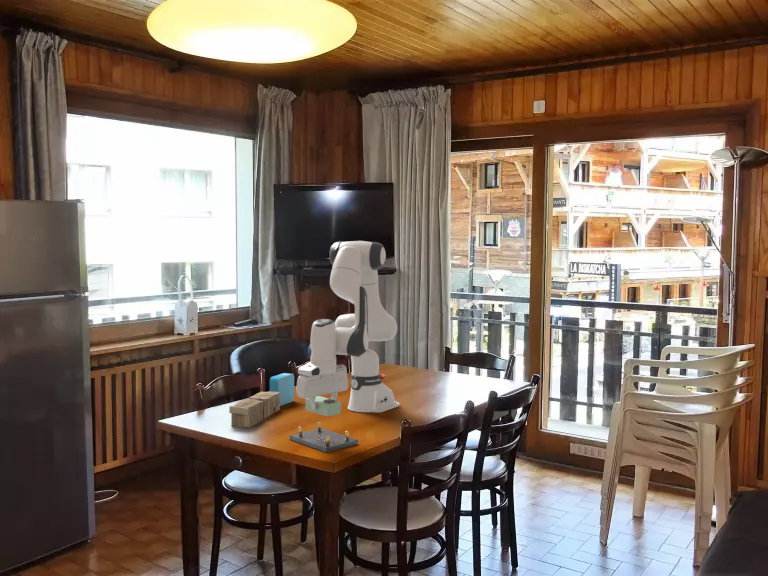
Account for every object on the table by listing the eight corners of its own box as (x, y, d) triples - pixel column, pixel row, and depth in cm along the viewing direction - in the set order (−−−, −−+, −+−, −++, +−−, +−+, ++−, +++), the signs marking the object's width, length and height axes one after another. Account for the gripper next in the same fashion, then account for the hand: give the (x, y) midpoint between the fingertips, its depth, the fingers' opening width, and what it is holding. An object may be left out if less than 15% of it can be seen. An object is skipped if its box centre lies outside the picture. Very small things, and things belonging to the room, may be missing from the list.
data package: (285, 399, 307) (285, 372, 306) (294, 401, 305) (294, 373, 304) (269, 405, 296) (269, 377, 295) (278, 407, 294) (278, 378, 293)
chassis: (321, 432, 258) (321, 419, 257) (357, 444, 243) (358, 431, 243) (289, 439, 248) (289, 426, 248) (325, 452, 234) (326, 439, 233)
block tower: (262, 411, 291) (228, 427, 263) (262, 390, 291) (228, 404, 263) (280, 412, 289) (247, 429, 261) (280, 392, 289) (247, 406, 261)
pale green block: (318, 407, 251) (318, 394, 251) (340, 413, 243) (341, 400, 242) (305, 409, 247) (305, 396, 247) (327, 416, 239) (327, 402, 238)
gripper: (340, 362, 253) (340, 400, 254) (293, 369, 239) (294, 410, 240) (352, 364, 249) (352, 403, 250) (305, 372, 234) (305, 413, 235)
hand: (323, 407), depth 245 cm, fingers closed on pale green block, 6 cm apart
